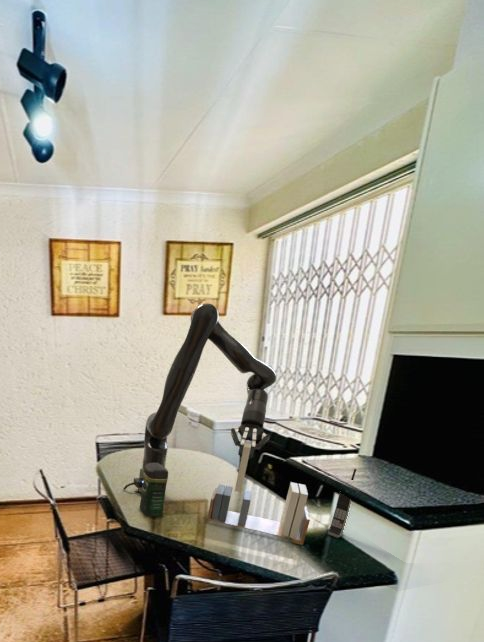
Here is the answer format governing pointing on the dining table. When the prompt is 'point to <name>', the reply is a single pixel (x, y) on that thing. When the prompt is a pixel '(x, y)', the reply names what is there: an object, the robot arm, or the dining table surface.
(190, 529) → the dining table surface
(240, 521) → the grey books
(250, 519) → the book shelf
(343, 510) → the vintage mobile phone
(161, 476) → the coffee jar
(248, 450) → the white book
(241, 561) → the dining table surface
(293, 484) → the white books
